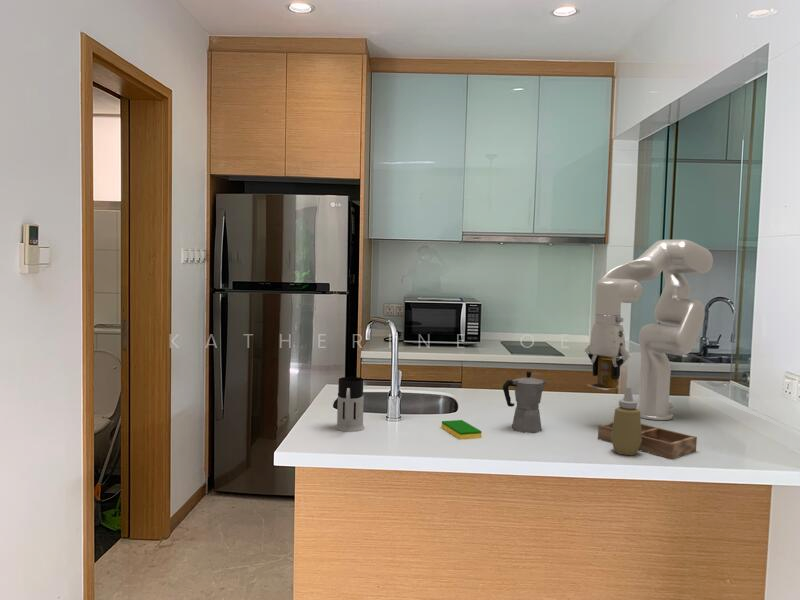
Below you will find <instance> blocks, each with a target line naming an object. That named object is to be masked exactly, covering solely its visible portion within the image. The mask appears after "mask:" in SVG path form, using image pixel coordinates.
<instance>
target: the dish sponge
mask: <svg viewBox="0 0 800 600" xmlns="http://www.w3.org/2000/svg"><path fill="white" fill-rule="evenodd" d="M441 429H443V430H445V431H446V432H448V433H449V434H451V435H452V436H454V437H455V438H457V439H458V440H472V439H481V438H482V435H483V434H482V430H480V429H478V428H477V427H476V426H473V425H471V424H470V423H468V422H466V421H465V420H462V419H459V420H458V419H457V420H442V421H441Z"/></svg>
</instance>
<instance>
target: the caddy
mask: <svg viewBox="0 0 800 600" xmlns="http://www.w3.org/2000/svg"><path fill="white" fill-rule="evenodd" d="M612 427H613V422H612V421H611V422H608V423H604V424H599V425H598V428H597V429H598V431H597V439H598V440H600V439H601V441H604V442H608V443H611V442H612V440H611V433H612ZM641 434H642V442H641V445H640V447H639V449H638V451H640V450H642V451H641V452H644V451H645V452H644V453H647V452H649V453H648V454H651V453H652V454H651V455H654V454H656V455H655V456H658V455H659V456H658V457H662V456H663V457H662V458H665V457H667V458H666V459H669V458H670V459H669V460H673V459H676V457H677V458H680V457H682V456H685V454H686V455H688V454H691V453H694V452H697V445H698V444H697V440H698V438H697V436H694V435H690V434H685V433H681V432H678V431H673V430H669V429H664V428H661V427H657V426H653V425H652V426H651V425H648V424H644V423H641ZM679 456H680V457H679Z"/></svg>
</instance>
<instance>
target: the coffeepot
mask: <svg viewBox="0 0 800 600" xmlns="http://www.w3.org/2000/svg"><path fill="white" fill-rule="evenodd" d="M525 374H526V377H520V378H515V379H507V380H506V381H505V382H504V383H503V385H502V391H503V394H504V397H505V400H506V404H507V406H508V407H511V408H513V407H515V403H512V402H511V401H512V400H511V395H510V388H509V387H514V396H515V401H516V407H515V411H514V416H513V420H512V424H511V427H512V429H513V430H514V431H516V432H519V431H520V433H525V432H527V434H529V433H530V434H533V433H534V434H535V433H539V431H540V432H541V431H542V430H543V429H542V422H541V420H542V419H541V414H540V409H539V408H540V405H539V404H540V403H541V400H542V395H543V394H542V393H543V388H544V387H545V385H546V384H547V383H548V381H547V380H545V379H544V380H543V379H539V378H534V377H532V376H531V375H532V371H525Z"/></svg>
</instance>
